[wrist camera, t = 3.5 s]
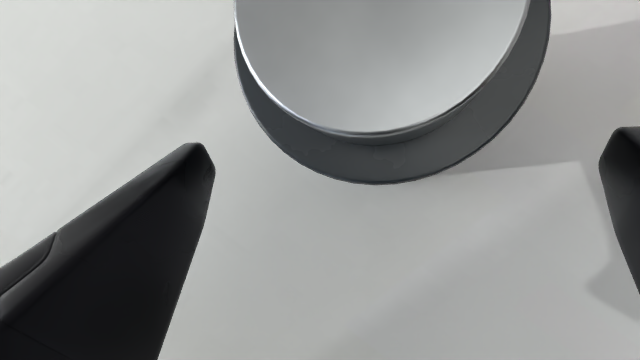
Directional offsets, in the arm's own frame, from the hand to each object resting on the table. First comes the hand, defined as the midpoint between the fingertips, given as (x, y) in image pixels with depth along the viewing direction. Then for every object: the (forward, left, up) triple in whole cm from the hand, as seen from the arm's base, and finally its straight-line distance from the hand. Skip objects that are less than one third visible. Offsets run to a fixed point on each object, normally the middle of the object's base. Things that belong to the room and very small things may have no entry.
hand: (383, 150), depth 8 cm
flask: (+2, -1, -9) cm, 10 cm away
